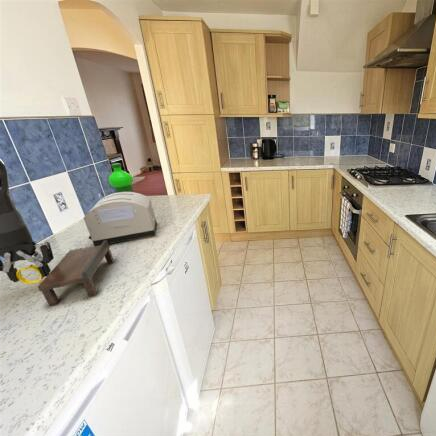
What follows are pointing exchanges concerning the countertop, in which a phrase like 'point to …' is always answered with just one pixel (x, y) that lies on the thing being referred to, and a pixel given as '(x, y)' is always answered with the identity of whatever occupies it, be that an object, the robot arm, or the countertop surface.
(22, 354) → the countertop surface
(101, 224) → the toaster
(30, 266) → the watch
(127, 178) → the plastic bottle
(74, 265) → the small brown table
